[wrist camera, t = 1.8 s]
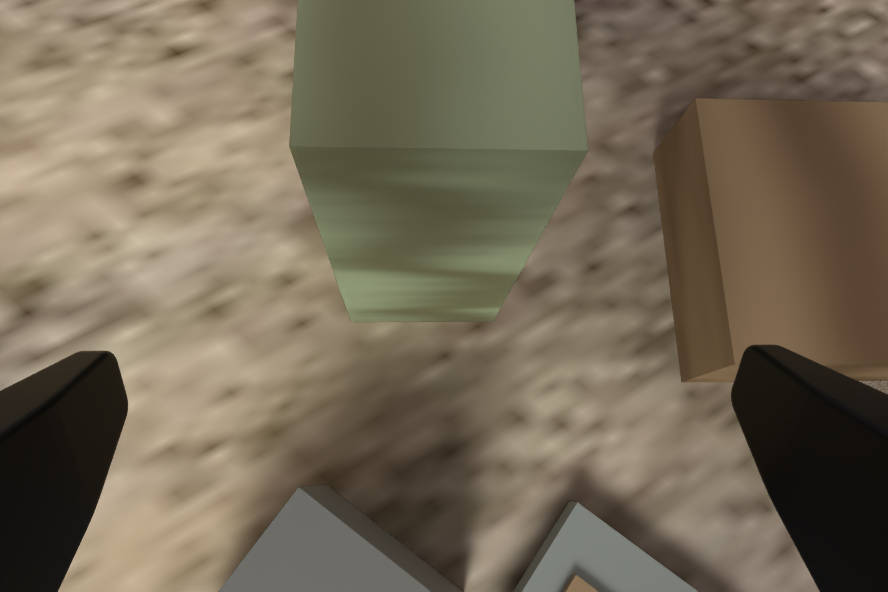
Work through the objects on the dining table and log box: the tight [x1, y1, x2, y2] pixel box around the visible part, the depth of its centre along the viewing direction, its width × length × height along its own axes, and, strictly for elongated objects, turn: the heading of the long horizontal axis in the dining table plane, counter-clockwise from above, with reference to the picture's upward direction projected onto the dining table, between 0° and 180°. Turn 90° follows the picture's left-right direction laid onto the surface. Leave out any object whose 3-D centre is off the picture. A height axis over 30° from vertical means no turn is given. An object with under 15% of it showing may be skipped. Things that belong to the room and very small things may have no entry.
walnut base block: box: [653, 98, 888, 382], centre depth 22 cm, size 9×9×4 cm
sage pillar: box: [289, 0, 588, 322], centre depth 17 cm, size 5×5×12 cm
